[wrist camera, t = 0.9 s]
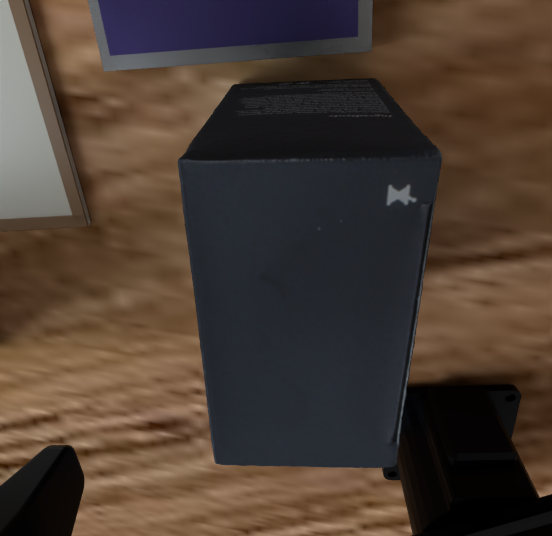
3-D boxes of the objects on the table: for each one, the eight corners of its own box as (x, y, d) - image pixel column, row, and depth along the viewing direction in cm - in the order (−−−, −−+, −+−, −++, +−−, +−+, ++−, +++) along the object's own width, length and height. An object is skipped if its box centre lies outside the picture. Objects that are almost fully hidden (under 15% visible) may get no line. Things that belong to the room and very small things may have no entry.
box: (226, 79, 18) (166, 151, 9) (380, 76, 17) (459, 148, 9) (240, 295, 22) (209, 472, 14) (363, 295, 22) (404, 475, 14)
